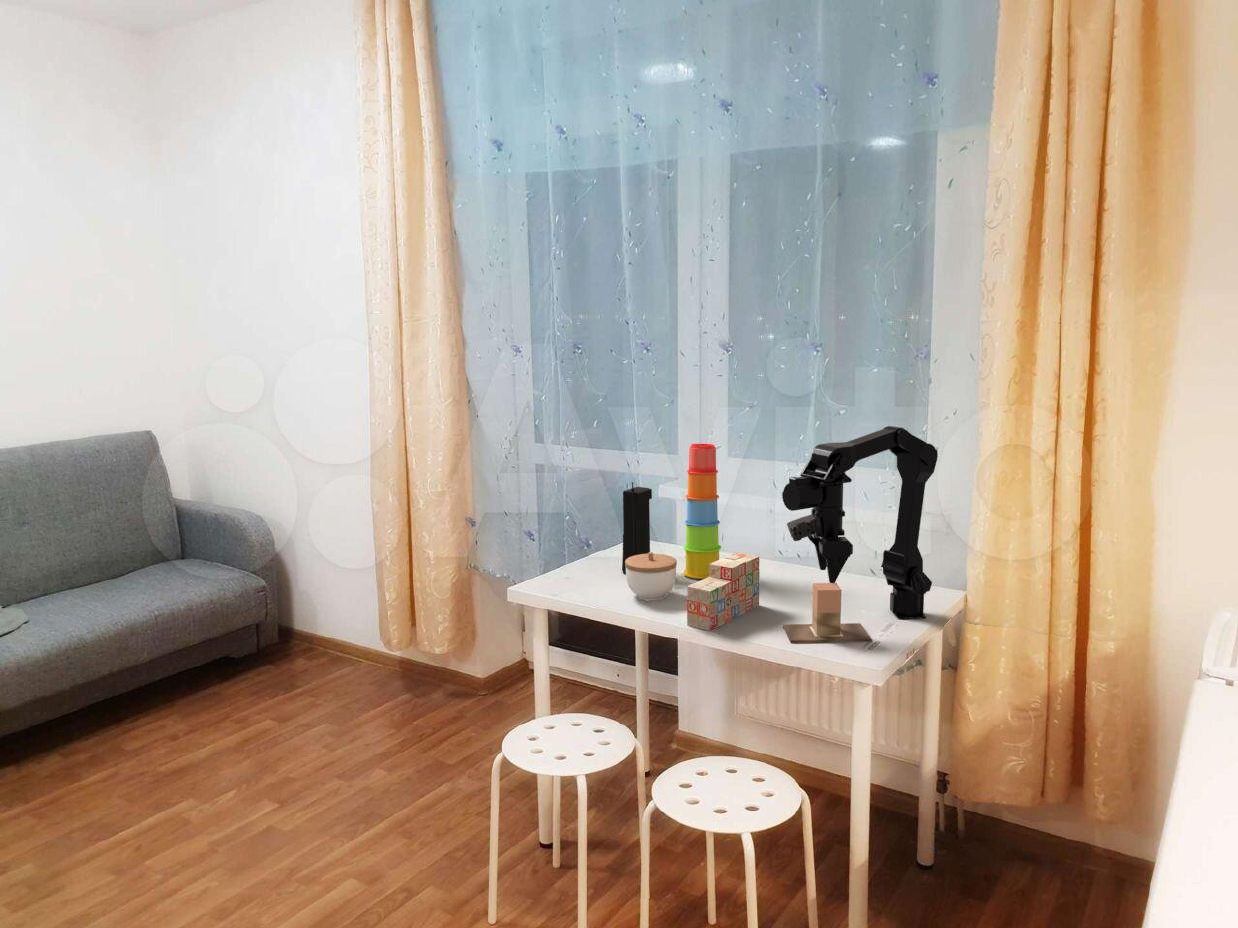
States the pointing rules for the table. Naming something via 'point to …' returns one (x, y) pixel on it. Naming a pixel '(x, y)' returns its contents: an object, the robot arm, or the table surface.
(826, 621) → the oak cube
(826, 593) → the terracotta cube
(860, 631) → the brown flat panel
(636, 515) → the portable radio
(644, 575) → the lidded bowl
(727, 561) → the stack of blocks
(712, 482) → the stacking cups
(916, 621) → the table surface
